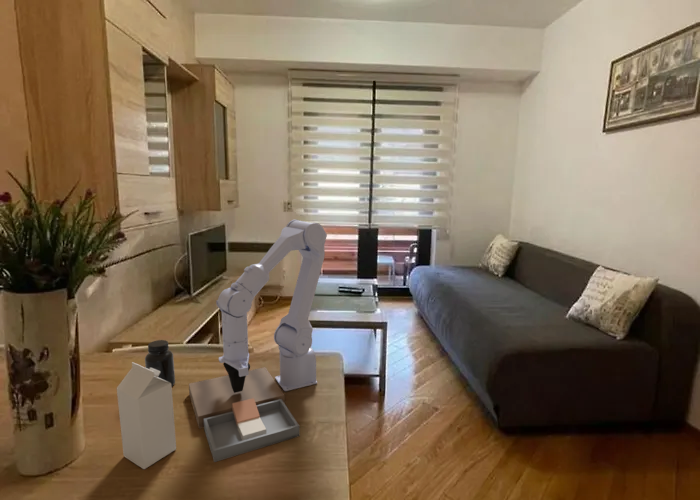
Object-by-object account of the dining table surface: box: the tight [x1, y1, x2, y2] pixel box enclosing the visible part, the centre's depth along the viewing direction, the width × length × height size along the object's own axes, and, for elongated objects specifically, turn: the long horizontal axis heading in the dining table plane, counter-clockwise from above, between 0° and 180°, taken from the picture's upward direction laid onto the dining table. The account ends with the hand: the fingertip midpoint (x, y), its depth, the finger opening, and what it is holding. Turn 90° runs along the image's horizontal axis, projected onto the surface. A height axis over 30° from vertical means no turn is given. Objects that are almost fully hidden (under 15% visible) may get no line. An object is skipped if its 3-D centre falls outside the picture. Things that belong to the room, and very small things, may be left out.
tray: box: [203, 399, 301, 463], centre depth 91 cm, size 18×12×2 cm, turn 118°
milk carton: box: [116, 361, 177, 470], centre depth 82 cm, size 7×7×19 cm
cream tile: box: [237, 417, 266, 441], centre depth 90 cm, size 5×5×2 cm
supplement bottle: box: [144, 339, 176, 387], centre depth 109 cm, size 7×7×12 cm
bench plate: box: [188, 366, 286, 429], centre depth 104 cm, size 20×16×3 cm
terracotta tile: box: [232, 398, 260, 425], centre depth 94 cm, size 5×5×2 cm
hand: (237, 390), depth 101 cm, fingers closed
